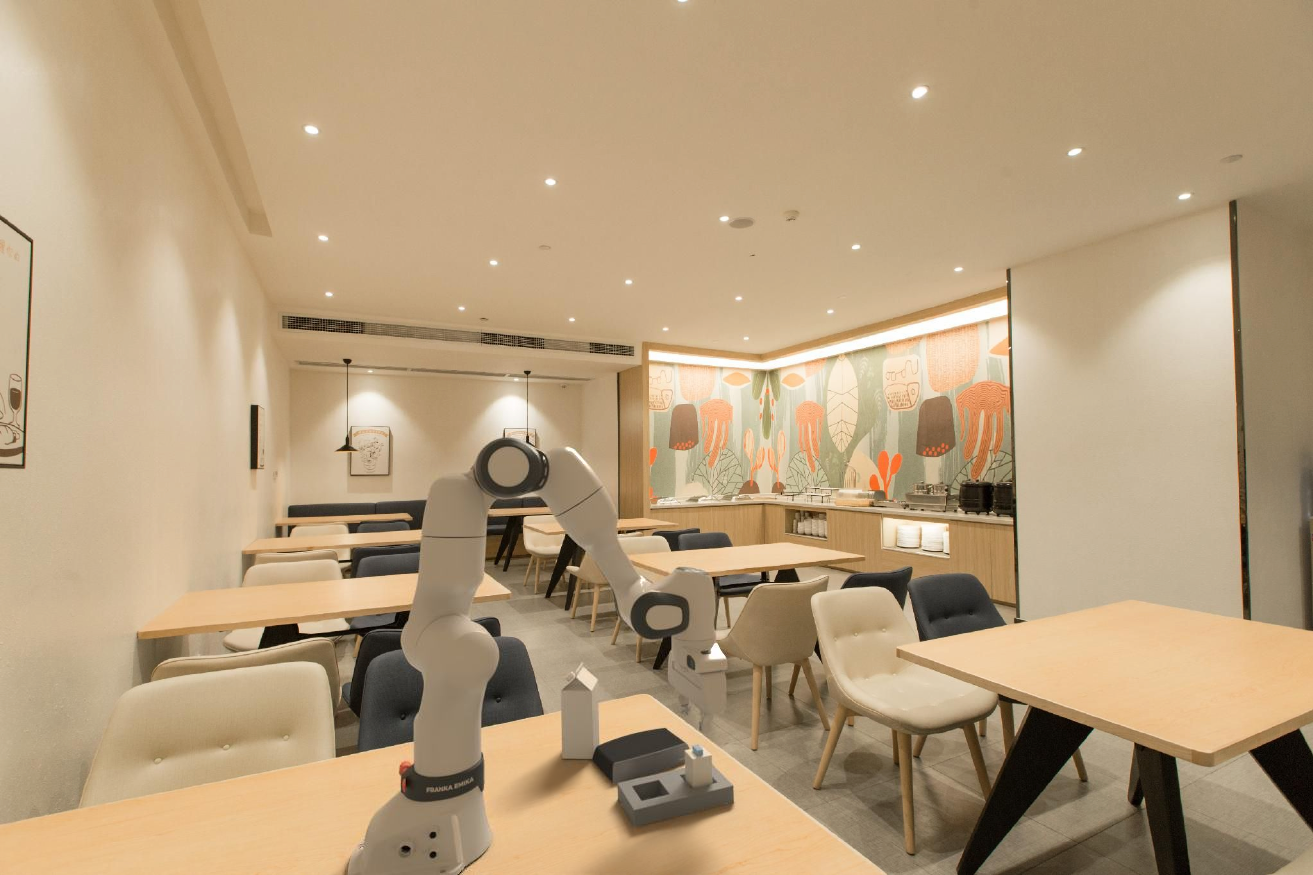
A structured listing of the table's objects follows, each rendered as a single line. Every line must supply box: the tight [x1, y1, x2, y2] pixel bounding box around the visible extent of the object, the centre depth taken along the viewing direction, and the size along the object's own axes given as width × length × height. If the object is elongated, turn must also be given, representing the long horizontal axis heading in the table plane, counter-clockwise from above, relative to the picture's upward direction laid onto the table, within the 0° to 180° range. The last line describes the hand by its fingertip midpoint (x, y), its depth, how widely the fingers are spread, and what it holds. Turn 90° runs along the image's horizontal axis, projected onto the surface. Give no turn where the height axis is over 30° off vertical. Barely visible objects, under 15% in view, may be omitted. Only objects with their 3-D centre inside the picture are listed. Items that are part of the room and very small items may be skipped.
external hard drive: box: [591, 727, 691, 785], centre depth 129 cm, size 13×19×4 cm
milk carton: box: [560, 661, 600, 760], centre depth 134 cm, size 7×7×19 cm
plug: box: [684, 744, 713, 789], centre depth 114 cm, size 4×4×9 cm
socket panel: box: [617, 763, 735, 828], centre depth 112 cm, size 20×10×3 cm, turn 111°
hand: (694, 722), depth 115 cm, fingers open, 8 cm apart
